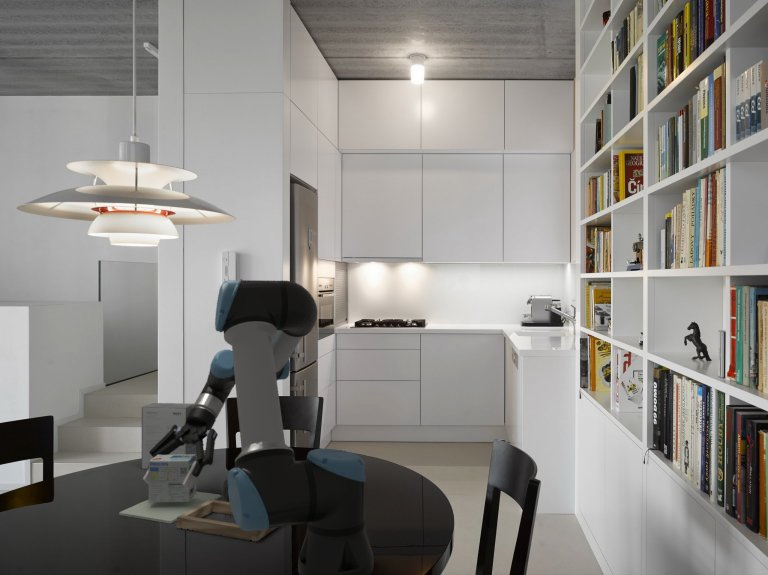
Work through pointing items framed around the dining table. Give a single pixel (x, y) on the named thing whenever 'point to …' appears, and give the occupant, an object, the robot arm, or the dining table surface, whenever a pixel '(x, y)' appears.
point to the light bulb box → (170, 478)
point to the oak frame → (216, 522)
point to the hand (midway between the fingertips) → (165, 484)
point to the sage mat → (167, 508)
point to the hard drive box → (163, 427)
